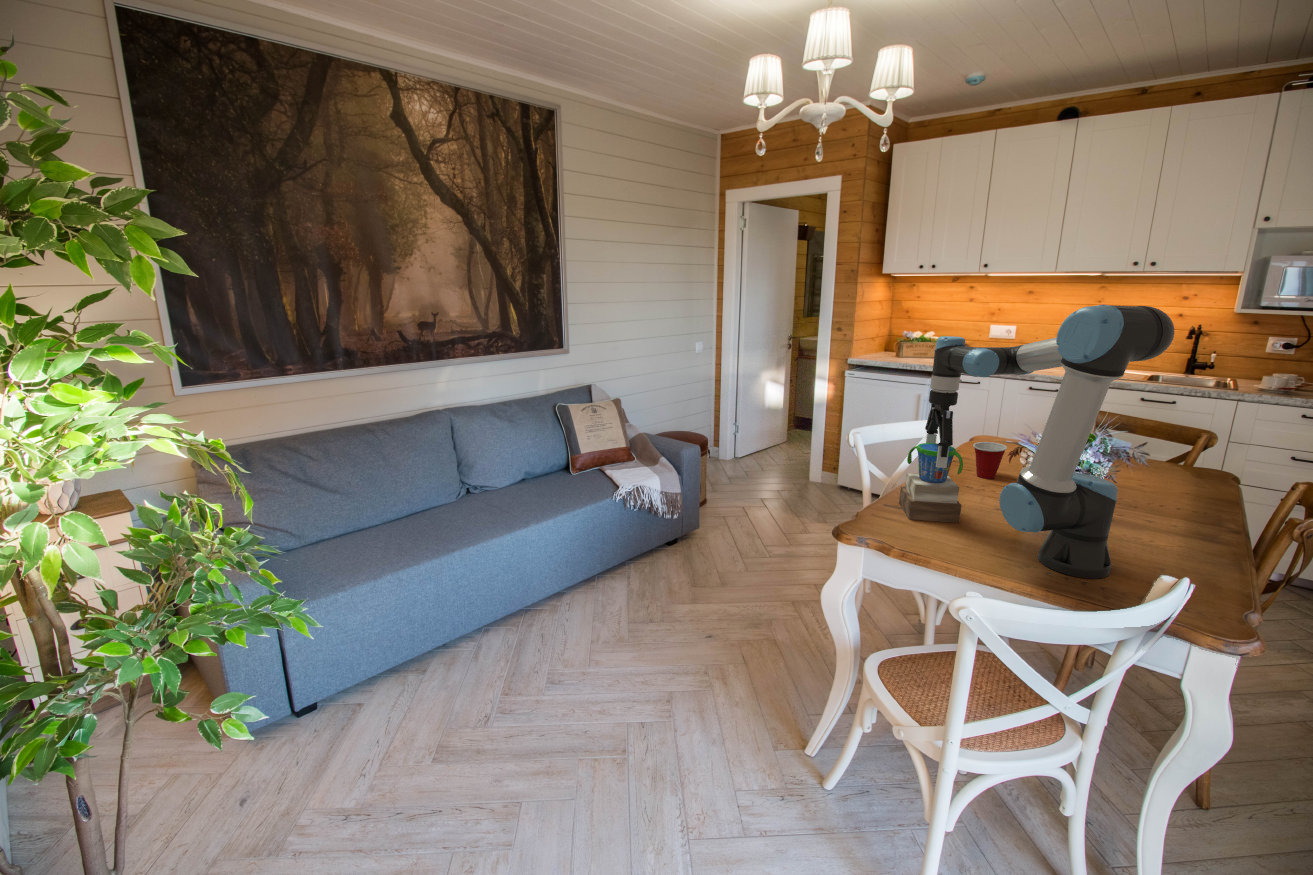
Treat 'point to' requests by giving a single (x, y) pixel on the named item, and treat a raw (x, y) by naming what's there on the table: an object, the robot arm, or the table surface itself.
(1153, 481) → the table surface
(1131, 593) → the table surface
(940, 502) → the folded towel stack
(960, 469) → the snack cup
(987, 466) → the plastic cup
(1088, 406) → the robot arm
